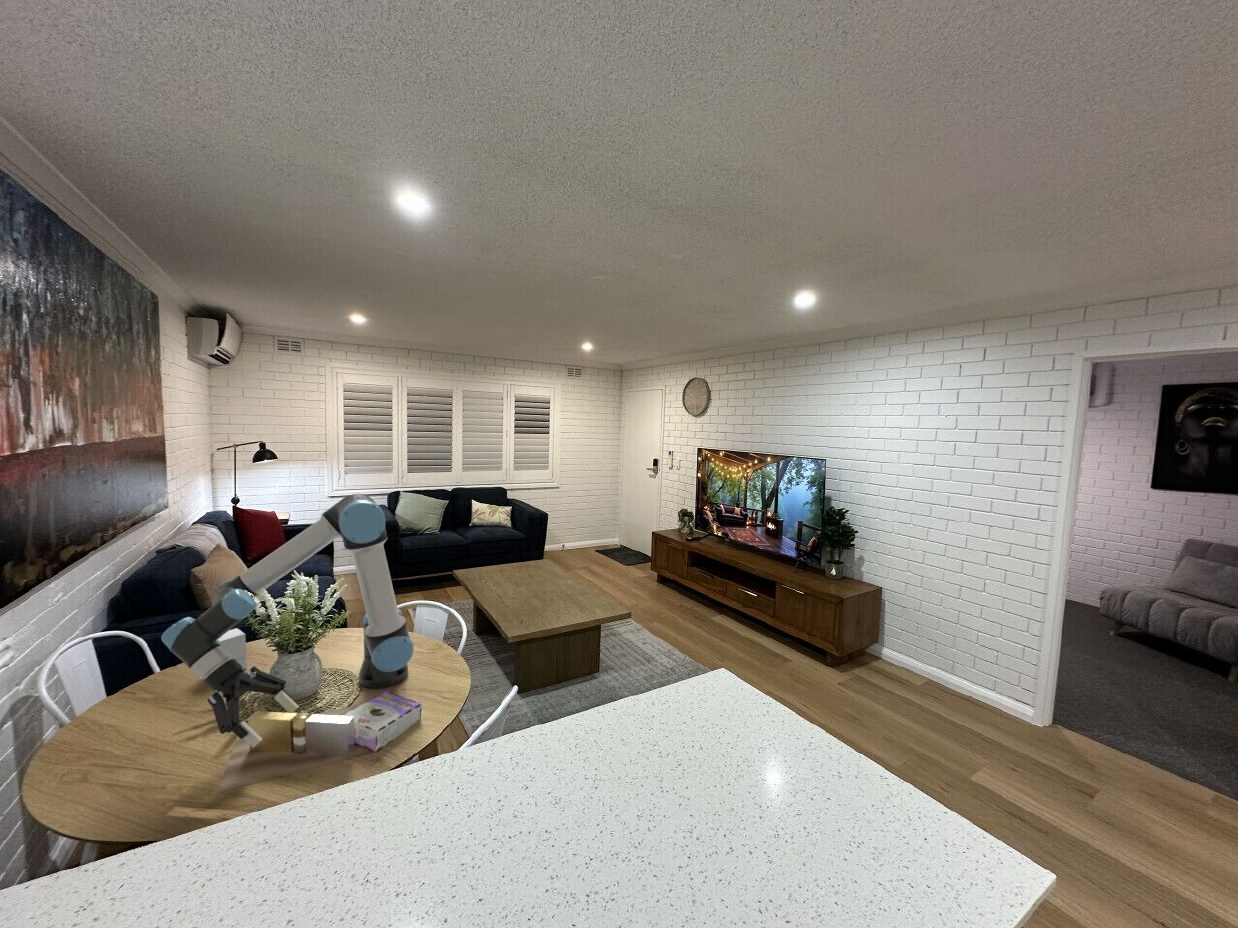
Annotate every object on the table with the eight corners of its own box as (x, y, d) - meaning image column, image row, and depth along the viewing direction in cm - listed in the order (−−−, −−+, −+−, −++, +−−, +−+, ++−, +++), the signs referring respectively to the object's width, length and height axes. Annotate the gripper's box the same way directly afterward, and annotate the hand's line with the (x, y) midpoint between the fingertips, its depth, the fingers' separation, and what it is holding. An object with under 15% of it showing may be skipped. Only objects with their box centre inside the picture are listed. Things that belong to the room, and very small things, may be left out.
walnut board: (239, 734, 138) (239, 730, 138) (368, 705, 153) (368, 702, 153) (218, 797, 116) (218, 793, 116) (371, 756, 131) (371, 752, 131)
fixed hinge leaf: (300, 743, 133) (299, 712, 132) (355, 746, 133) (354, 715, 132) (290, 754, 129) (288, 721, 128) (346, 757, 129) (346, 724, 128)
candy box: (384, 708, 151) (336, 736, 136) (386, 689, 151) (338, 715, 135) (420, 722, 146) (375, 753, 131) (422, 703, 146) (377, 731, 130)
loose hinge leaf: (259, 741, 134) (258, 709, 133) (314, 744, 133) (313, 712, 132) (248, 751, 130) (246, 719, 129) (305, 754, 129) (303, 722, 128)
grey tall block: (239, 661, 176) (237, 627, 174) (247, 668, 171) (245, 633, 170) (213, 670, 170) (211, 634, 168) (221, 677, 165) (219, 641, 164)
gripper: (245, 654, 142) (299, 706, 143) (163, 706, 117) (229, 769, 119) (263, 637, 141) (317, 690, 143) (184, 686, 117) (250, 749, 118)
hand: (277, 726), depth 131 cm, fingers open, 13 cm apart
